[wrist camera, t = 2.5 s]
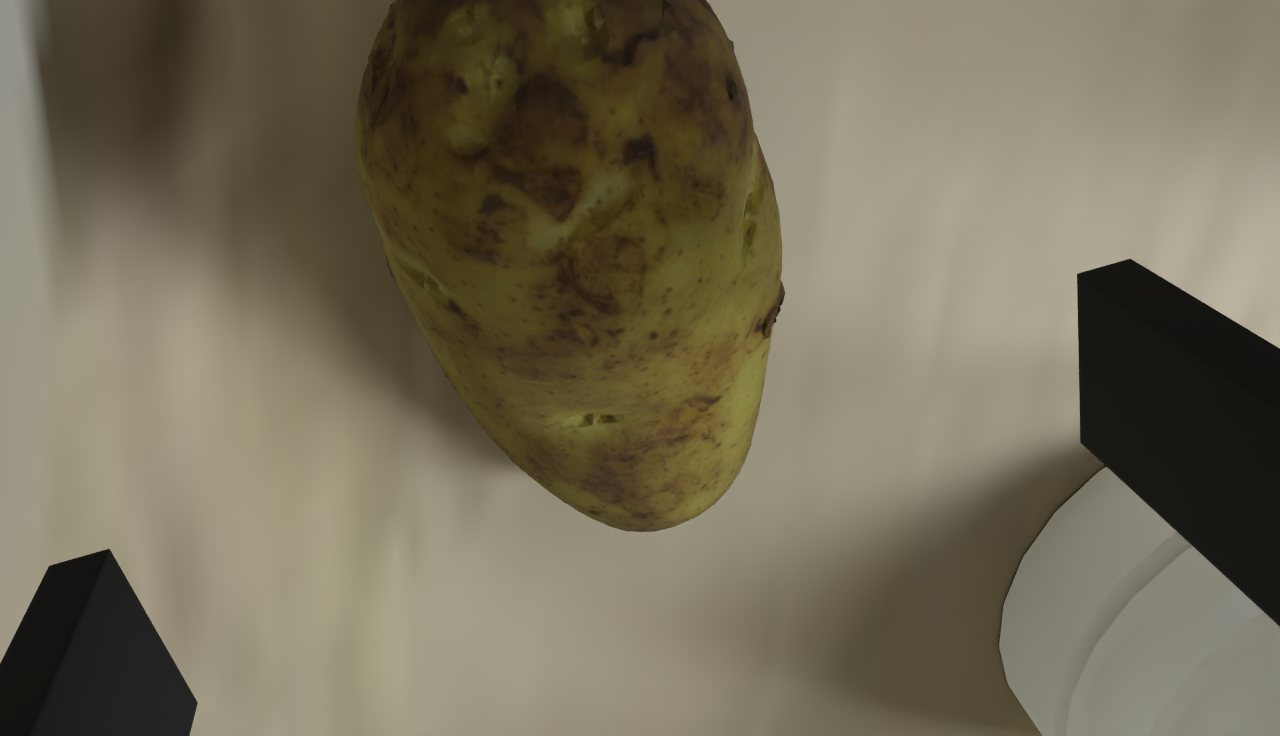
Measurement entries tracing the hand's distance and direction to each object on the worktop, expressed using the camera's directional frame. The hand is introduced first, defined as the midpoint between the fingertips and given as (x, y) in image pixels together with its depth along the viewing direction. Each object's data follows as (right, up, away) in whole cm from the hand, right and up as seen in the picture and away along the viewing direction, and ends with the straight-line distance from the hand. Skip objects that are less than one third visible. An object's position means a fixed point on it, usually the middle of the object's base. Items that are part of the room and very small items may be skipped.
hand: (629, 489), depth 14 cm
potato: (-2, +5, +10) cm, 11 cm away
